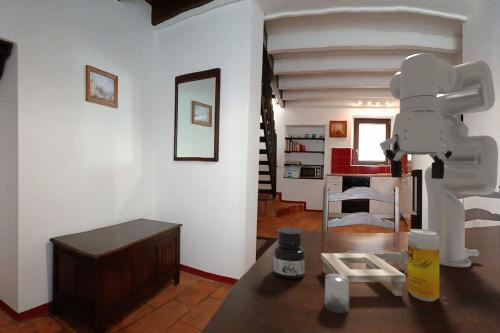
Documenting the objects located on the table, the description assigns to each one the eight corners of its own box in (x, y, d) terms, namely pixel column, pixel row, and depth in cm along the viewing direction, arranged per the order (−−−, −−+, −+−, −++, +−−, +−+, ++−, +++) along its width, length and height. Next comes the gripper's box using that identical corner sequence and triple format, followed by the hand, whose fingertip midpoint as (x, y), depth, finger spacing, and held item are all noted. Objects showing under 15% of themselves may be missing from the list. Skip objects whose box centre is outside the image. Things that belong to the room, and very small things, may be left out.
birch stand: (371, 270, 73) (371, 253, 73) (405, 296, 58) (405, 275, 58) (320, 270, 72) (321, 253, 72) (341, 297, 57) (341, 275, 57)
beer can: (401, 289, 61) (401, 228, 61) (424, 289, 62) (425, 228, 62) (420, 303, 55) (420, 235, 55) (446, 302, 56) (446, 235, 56)
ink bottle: (269, 277, 67) (269, 233, 67) (274, 265, 76) (275, 226, 76) (306, 282, 65) (306, 236, 65) (307, 269, 73) (307, 228, 73)
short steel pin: (343, 300, 56) (343, 273, 56) (353, 312, 51) (353, 283, 51) (321, 300, 56) (321, 273, 56) (329, 313, 51) (329, 283, 51)
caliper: (412, 272, 72) (412, 250, 72) (411, 273, 72) (411, 251, 72) (344, 254, 87) (344, 236, 87) (343, 255, 86) (343, 236, 86)
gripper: (442, 112, 64) (442, 178, 64) (374, 110, 65) (373, 176, 64) (467, 104, 56) (466, 179, 56) (389, 102, 57) (388, 177, 57)
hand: (416, 178), depth 60 cm, fingers open, 9 cm apart
